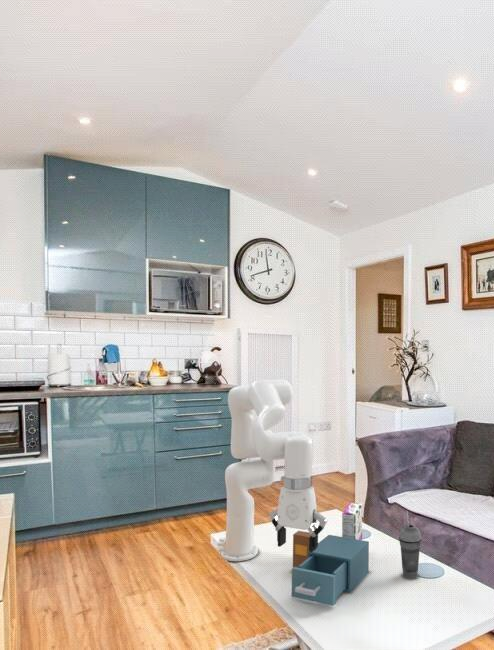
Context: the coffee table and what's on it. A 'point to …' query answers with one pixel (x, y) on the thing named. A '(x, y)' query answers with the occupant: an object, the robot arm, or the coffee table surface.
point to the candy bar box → (352, 521)
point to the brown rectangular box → (300, 547)
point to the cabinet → (346, 556)
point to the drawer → (320, 579)
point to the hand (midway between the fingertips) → (297, 547)
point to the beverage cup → (410, 550)
